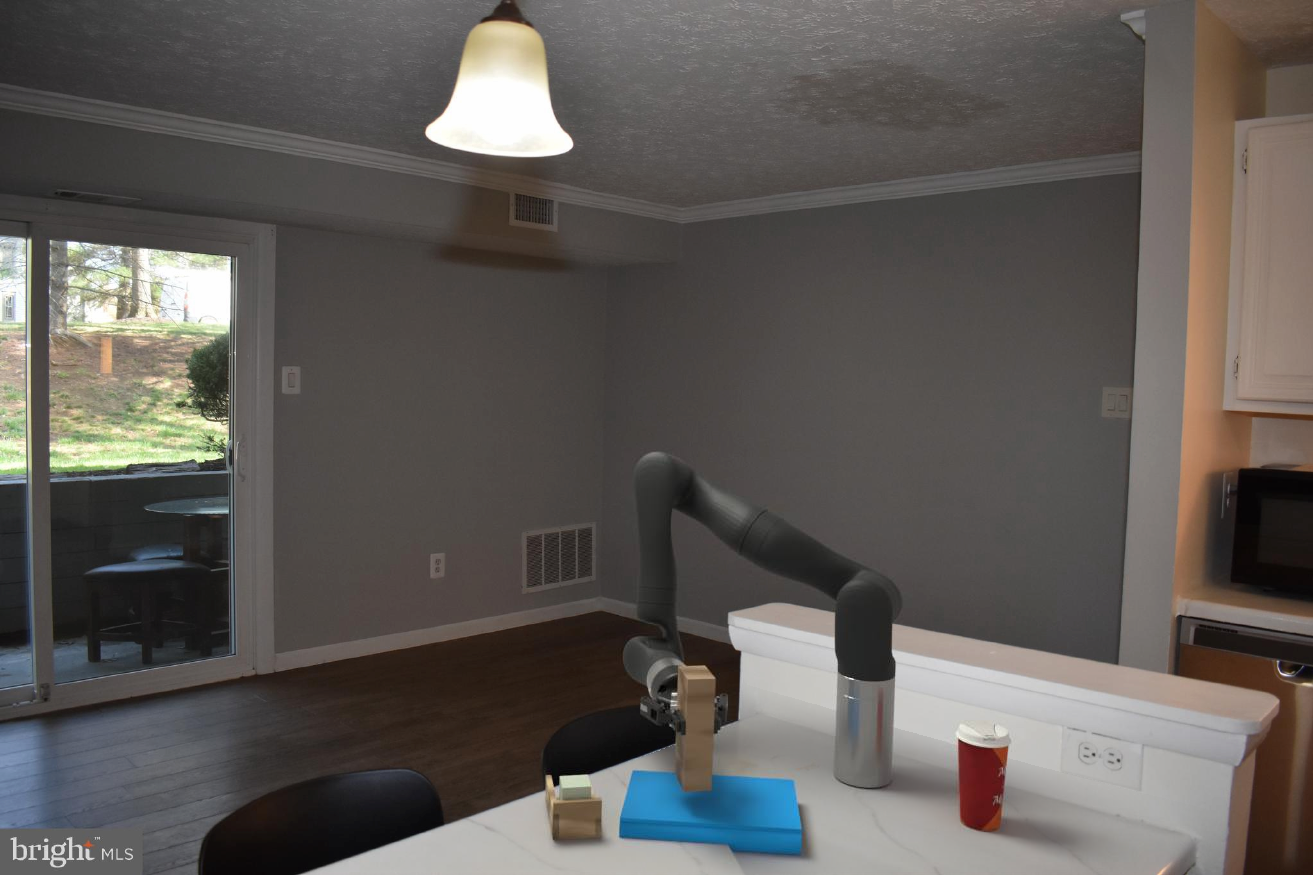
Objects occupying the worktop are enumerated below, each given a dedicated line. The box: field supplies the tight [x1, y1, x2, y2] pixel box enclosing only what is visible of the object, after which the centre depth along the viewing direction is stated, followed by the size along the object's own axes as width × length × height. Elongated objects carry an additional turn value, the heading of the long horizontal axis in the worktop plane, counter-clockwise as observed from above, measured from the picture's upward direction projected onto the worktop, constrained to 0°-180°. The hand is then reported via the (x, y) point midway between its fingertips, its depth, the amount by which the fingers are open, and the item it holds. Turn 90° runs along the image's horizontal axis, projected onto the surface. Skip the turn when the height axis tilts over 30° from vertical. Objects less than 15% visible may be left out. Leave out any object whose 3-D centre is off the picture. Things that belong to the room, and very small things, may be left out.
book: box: [618, 769, 803, 855], centre depth 134 cm, size 17×4×25 cm
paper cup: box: [955, 720, 1012, 832], centre depth 135 cm, size 8×8×14 cm
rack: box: [544, 774, 603, 841], centre depth 132 cm, size 13×7×6 cm, turn 11°
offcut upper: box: [558, 774, 592, 800], centre depth 129 cm, size 4×4×3 cm
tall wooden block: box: [674, 665, 717, 792], centre depth 132 cm, size 6×4×16 cm, turn 11°
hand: (699, 727), depth 129 cm, fingers closed on tall wooden block, 4 cm apart
